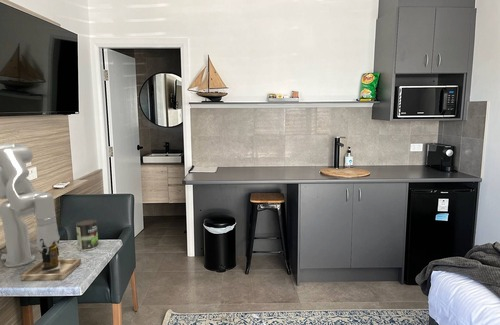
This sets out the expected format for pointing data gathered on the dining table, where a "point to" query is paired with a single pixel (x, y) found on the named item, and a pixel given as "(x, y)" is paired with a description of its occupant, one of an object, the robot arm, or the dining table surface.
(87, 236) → the coffee can
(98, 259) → the dining table surface
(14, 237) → the robot arm
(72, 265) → the tray
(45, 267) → the condiment
